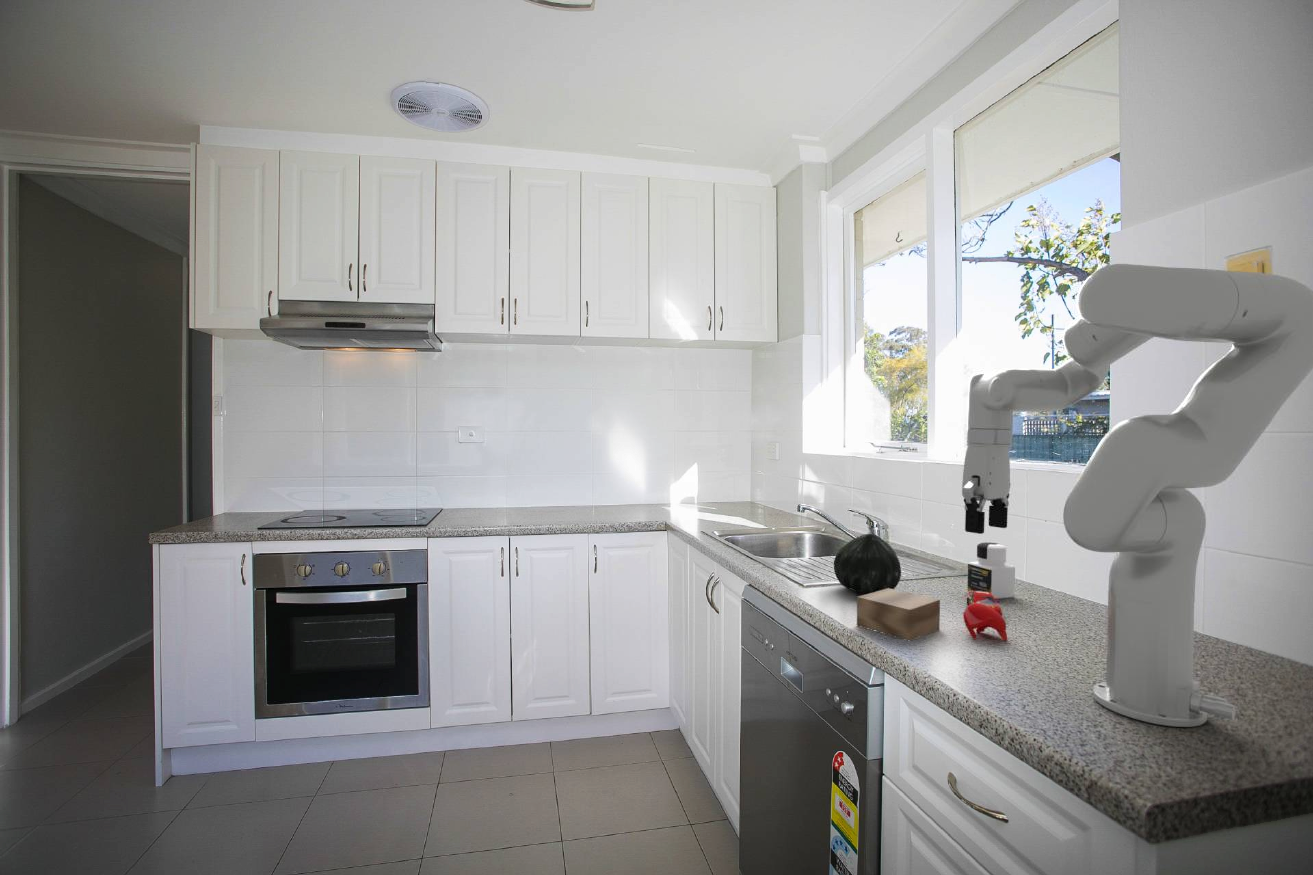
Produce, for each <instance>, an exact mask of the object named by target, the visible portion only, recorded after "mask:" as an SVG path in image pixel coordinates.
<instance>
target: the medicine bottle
mask: <svg viewBox="0 0 1313 875" xmlns="http://www.w3.org/2000/svg"><path fill="white" fill-rule="evenodd" d="M976 560H977V561H970V562H968V563H967V592H968V593H969V592H970V591H986V592H990V593H991V594H992V595H993V597H994V598H995V600H999V599H1007V598H1008V599H1009V598H1014V597H1015V596H1016V595H1015V593H1016V591H1015V590H1016V588H1015V587H1016V568H1015V566H1013V565H1010V564H1005V563H1006V562H1007V547H1006V546H1005V545H1003V544H1002V543H1001V544H1000V543H997V542H996V543H995V542H986V541H985V542H980V543H978V544H977V545H976Z"/></svg>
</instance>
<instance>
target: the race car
mask: <svg viewBox="0 0 1313 875" xmlns="http://www.w3.org/2000/svg"><path fill="white" fill-rule="evenodd" d="M973 603H978V604H983V605H986V606H988V607H990V608H992V609H994V610H995V611H996V612H998V613H999V614H1000V615H1001V616H1002V617H1003V610H1002V608H1001V607H1000V605H999V603H1000V600H997V599H995V598H994V597H993V595H992V594H991V593H990V592H986V591H970V592H968V593H967V597H966V605H967V607H968V606H969V605H970V604H973Z"/></svg>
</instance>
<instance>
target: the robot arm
mask: <svg viewBox="0 0 1313 875" xmlns="http://www.w3.org/2000/svg"><path fill="white" fill-rule="evenodd" d="M1078 289H1079V290H1078V292H1077V295H1076V301H1075V302H1076V303H1075V304H1076V305H1075V306H1076V310H1077V312H1078V314H1079V316H1078V317H1076V318H1075V319H1074V320H1072V321H1071V322H1069V324H1067V325H1066V327H1065V328H1064V330H1063V332H1062V343H1063V346H1064V349H1065V350H1066V353H1067V354H1068V355H1069V356H1070V358H1069V359H1068V360H1066V361H1064V362H1062V364H1060V365H1058V366H1057V367H1055V368H1052V369H1050V368H1049V369H1048V368H1018V367H1017V368H1011V367H1010V368H1003V369H1000V370H996V371H987V372H985V371H984V372H982V371H981V372H976V373H973V374H971V376H970V377H969V379H968V390H967V391H968V392H967V393H968V395H967V398H968V399H967V425H966V426H967V427H966V428H967V429H966V431H967V432H966V446H967V448H966V451H965V457H964V463H963V470H962V471H963V472H962V485H961V496H962V497H963V498H964V499H963V502H964V511H965V517H964V518H965V519H964V520H965V521H964V531H965V532H966V533H971V534H972V533H973V534H978V535H980V534H981V535H982V534H984V533H985V518H986V516H985V514H986V512H985V511H983V510H984V508H985V505H986V503H987V502H990V504H991V505H988V526H989V527H993V528H1000V529H1006V528H1008V511H1009V510H1008V507H1009V504H1010V502H1009V498H1010V496H1011V495H1010V489H1011V465H1010V463H1011V462H1010V461H1011V460H1010V448H1013V428H1014V427H1013V426H1014V413H1015V412H1018V413H1019V412H1021V413H1025V412H1027V413H1028V412H1035V413H1036V412H1038V413H1041V412H1043V413H1052V412H1053V413H1054V412H1059V411H1062V410H1065V409H1067V408H1069V407H1071V406H1073V405H1075V404H1077V403H1078V402H1080V401H1082V400H1084V399H1086V398H1087V397H1089V396H1091V395H1092V394H1094V393H1095V392H1096V391H1097V390H1098V389H1099V388H1100V387H1101V385H1102V384H1103V383H1104V381H1105V380H1106V378H1107V376H1108V374H1109V372H1110V366H1111V365H1112V364H1113V363H1115V362H1116V361H1118V360H1119V359H1121V358H1123V357H1124V356H1126V355H1127V354H1129V353H1131V352H1132V351H1133V350H1135V349H1137V348H1139V347H1141V346H1142V345H1144V344H1145V343H1147V342H1148V341H1150V340H1151V339H1153V338H1160V339H1167V340H1171V341H1172V340H1174V341H1180V342H1181V341H1182V342H1196V343H1197V342H1200V343H1217V344H1218V343H1219V344H1220V343H1221V344H1222V343H1224V344H1225V343H1226V344H1227V343H1228V344H1231V349H1230V350H1229V351H1227V353H1226V354H1225V355H1223V356H1222V357H1221V358H1220V359H1218V360H1217V361H1216V362H1214V363H1213V364H1211V365H1210V367H1208V368H1207V369H1206V370H1205V371H1204V372H1203V373H1202V374H1201V375H1200V376H1199V377H1198V379H1197V380H1196V381H1195V383H1194V384H1193V386H1192V388H1191V389H1190V391H1189V393H1188V394H1187V395H1186V397H1185V398H1184V400H1183V401H1182V402H1181V403H1180V405H1179V406H1178V407H1177V408H1176V409H1175V410H1174V411H1173V412H1171V413H1168V414H1141V415H1136V416H1132V417H1128V418H1126V419H1123V420H1122V421H1120V422H1119V423H1117V424H1115V425H1114V426H1113V427H1112V428H1111V429H1110V430H1108V432H1106V433H1105V434H1104V436H1103V437H1102V439H1100V441H1099V443H1098V445H1097V446H1096V448H1095V450H1094V452H1092V455H1091V456H1090V457H1089V460H1088V461H1087V463H1086V465H1085V466H1084V468H1083V470H1082V471H1081V473H1080V474H1079V477H1078V478H1077V480H1076V481H1075V483H1074V485H1073V487H1072V488H1071V490H1070V492H1069V494H1068V496H1067V498H1066V501H1065V504H1064V507H1063V514H1062V516H1063V525H1064V529H1065V531H1066V533H1067V536H1069V538H1070V539H1071V540H1072V541H1073V542H1074V543H1075V544H1077V546H1079V547H1081V548H1084V549H1085V550H1088V551H1092V552H1095V553H1096V552H1097V553H1116V554H1115V556H1114V558H1113V561H1112V564H1111V566H1110V570H1109V573H1108V574H1109V576H1108V588H1107V627H1106V628H1107V629H1106V630H1107V632H1106V636H1107V637H1106V678H1105V680H1106V681H1102V682H1099V683H1095V685H1094V686H1093V688H1092V696H1093V698H1094V699H1095V701H1096V702H1097V703H1099V704H1100V705H1102V706H1103V707H1105V708H1106V709H1108V710H1110V711H1113V712H1114V713H1117V714H1120V715H1121V716H1125V717H1128V718H1131V719H1134V720H1138V721H1141V722H1146V723H1150V724H1154V725H1161V726H1167V727H1175V728H1176V727H1177V728H1178V727H1179V728H1193V727H1194V728H1195V727H1198V726H1202V725H1203V724H1205V723H1206V722H1207V720H1208V714H1211V715H1214V716H1215V717H1219V718H1222V719H1224V720H1225V719H1226V720H1229V721H1234V720H1235V717H1236V705H1234V704H1230V703H1228V700H1227V698H1223V697H1219V696H1216V695H1214V696H1213V695H1210V694H1209V695H1208V694H1206V693H1205V691H1203V690H1200V681H1198V680H1195V679H1194V678H1193V676H1194V675H1193V674H1194V636H1195V635H1194V634H1195V633H1194V631H1195V601H1196V600H1195V598H1196V595H1195V594H1196V579H1197V578H1196V575H1197V566H1198V560H1199V556H1200V552H1201V548H1202V544H1203V540H1204V537H1205V532H1206V525H1207V524H1206V522H1207V521H1206V520H1207V519H1206V513H1205V509H1204V507H1203V505H1202V503H1201V502H1200V499H1198V498H1197V497H1196V495H1195V494H1193V493H1192V492H1191V491H1189V490H1188V489H1197V488H1198V489H1200V488H1209V487H1214V486H1216V485H1219V484H1221V483H1223V482H1225V481H1227V479H1228V478H1229V477H1230V476H1232V475H1233V473H1234V472H1235V471H1236V469H1237V468H1238V467H1239V465H1240V464H1241V463H1242V461H1243V460H1244V458H1245V457H1246V456H1247V454H1248V453H1249V452H1250V451H1251V449H1252V448H1253V447H1254V445H1255V444H1256V442H1258V440H1259V438H1260V437H1261V436H1262V435H1263V433H1264V432H1265V430H1266V429H1267V428H1268V427H1269V425H1270V424H1271V423H1272V421H1273V419H1274V418H1275V416H1276V415H1277V413H1278V412H1279V411H1280V409H1281V408H1282V407H1283V405H1284V404H1285V403H1286V401H1287V400H1288V399H1289V398H1290V396H1292V394H1293V393H1294V391H1296V390H1297V388H1298V387H1300V385H1301V384H1302V382H1303V381H1304V380H1305V379H1306V378H1307V376H1308V375H1309V374H1310V373H1311V371H1312V370H1313V290H1312V289H1311V288H1310V287H1308V286H1307V285H1305V284H1303V283H1301V282H1299V281H1298V280H1296V279H1292V278H1289V277H1286V276H1281V275H1279V274H1278V275H1277V274H1274V273H1273V274H1271V273H1264V272H1254V271H1238V270H1237V271H1233V270H1224V269H1223V270H1222V269H1211V268H1196V267H1195V268H1189V267H1171V266H1170V267H1168V266H1167V267H1166V266H1156V265H1143V264H1134V263H1133V264H1130V263H1114V264H1109V265H1105V266H1103V267H1102V268H1100V269H1097V270H1095V271H1093V273H1091V274H1090V275H1089V276H1088V277H1087V278H1086V279H1085V280H1084V281H1083V283H1082V285H1080V288H1078Z"/></svg>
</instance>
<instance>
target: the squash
mask: <svg viewBox="0 0 1313 875" xmlns="http://www.w3.org/2000/svg"><path fill="white" fill-rule="evenodd" d="M833 571H834V574H835V577H836V579H837V581H838V582H839V584H840V585H841V586H843V587H845V589H848V590H853V591H855V592H861V594H862V595H866V594H869V593H873V592H876V591H880V590H884V589H887V588H890V589H894V590H895V588H897V586H898V584H899V582H900V580H901V576H902V570H901V562H900V560H899V558H898V555H897V553H896V551H895V549H893V547H892V546H891V545H890V544H889V543H888V542H886V541H885V540H884V539H883V538H881V537H880V536H878V535H877V534H875V533H874V534H873V533H866V534H863V535H859V536H857V537H855V538H853V539H851V540H850V541H848V542H847V543H846V544H844V545H843V546H841V547H840V549H839V550H838V551H837V553H836V555H835V557H834V559H833Z"/></svg>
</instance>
